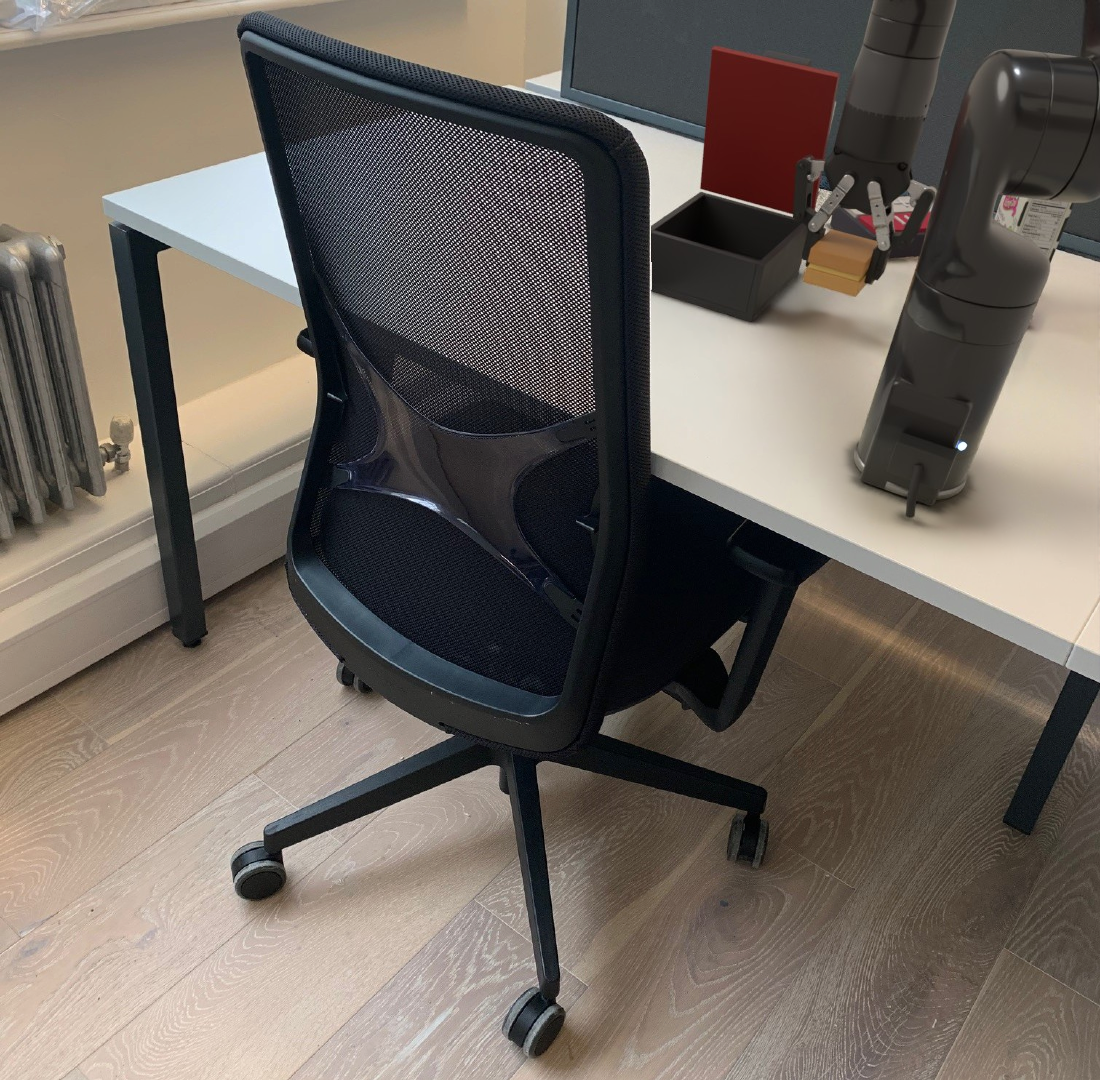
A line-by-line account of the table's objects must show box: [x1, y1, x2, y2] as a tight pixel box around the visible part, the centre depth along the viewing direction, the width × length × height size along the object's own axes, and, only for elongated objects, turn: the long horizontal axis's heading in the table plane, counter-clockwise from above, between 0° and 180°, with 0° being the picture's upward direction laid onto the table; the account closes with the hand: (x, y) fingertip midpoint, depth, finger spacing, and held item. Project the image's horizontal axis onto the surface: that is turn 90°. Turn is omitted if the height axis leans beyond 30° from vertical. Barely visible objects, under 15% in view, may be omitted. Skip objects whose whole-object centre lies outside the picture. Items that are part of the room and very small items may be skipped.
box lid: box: [699, 45, 841, 215], centre depth 114 cm, size 16×14×5 cm
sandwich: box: [802, 228, 877, 298], centre depth 107 cm, size 7×6×4 cm
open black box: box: [650, 191, 808, 323], centre depth 116 cm, size 16×14×6 cm
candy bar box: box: [994, 195, 1075, 264], centre depth 115 cm, size 11×5×16 cm, turn 168°
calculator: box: [829, 195, 934, 260], centre depth 131 cm, size 11×4×15 cm
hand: (840, 273), depth 107 cm, fingers closed on sandwich, 5 cm apart
